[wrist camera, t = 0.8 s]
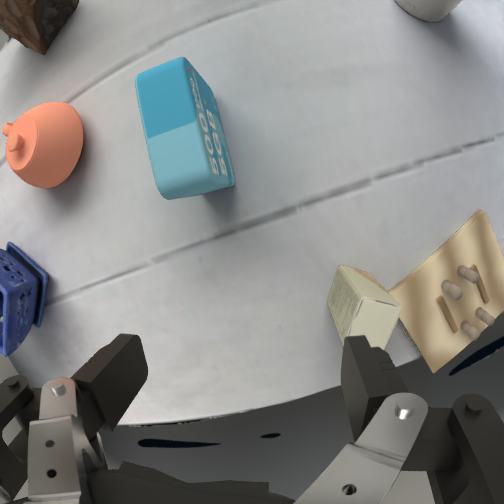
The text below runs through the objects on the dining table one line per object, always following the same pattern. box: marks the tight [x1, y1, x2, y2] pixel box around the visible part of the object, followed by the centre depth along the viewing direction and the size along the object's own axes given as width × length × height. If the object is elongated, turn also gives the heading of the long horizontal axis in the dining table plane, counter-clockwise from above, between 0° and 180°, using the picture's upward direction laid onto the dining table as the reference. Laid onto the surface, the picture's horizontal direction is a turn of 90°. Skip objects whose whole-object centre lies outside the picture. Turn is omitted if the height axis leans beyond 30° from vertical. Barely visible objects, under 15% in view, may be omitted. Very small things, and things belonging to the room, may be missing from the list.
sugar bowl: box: [2, 102, 83, 188], centre depth 29 cm, size 12×14×10 cm
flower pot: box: [0, 242, 49, 357], centre depth 34 cm, size 13×13×12 cm
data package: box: [135, 57, 235, 200], centre depth 26 cm, size 12×4×12 cm, turn 14°
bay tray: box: [388, 210, 504, 373], centre depth 31 cm, size 18×16×5 cm
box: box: [327, 265, 402, 350], centre depth 29 cm, size 5×4×11 cm
